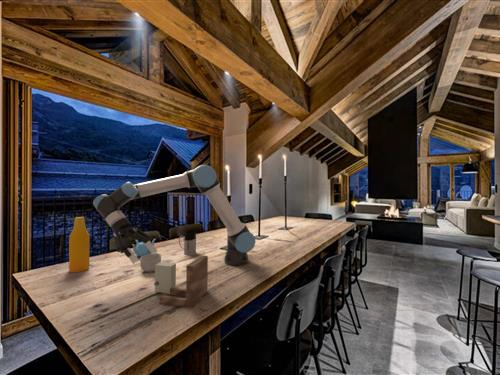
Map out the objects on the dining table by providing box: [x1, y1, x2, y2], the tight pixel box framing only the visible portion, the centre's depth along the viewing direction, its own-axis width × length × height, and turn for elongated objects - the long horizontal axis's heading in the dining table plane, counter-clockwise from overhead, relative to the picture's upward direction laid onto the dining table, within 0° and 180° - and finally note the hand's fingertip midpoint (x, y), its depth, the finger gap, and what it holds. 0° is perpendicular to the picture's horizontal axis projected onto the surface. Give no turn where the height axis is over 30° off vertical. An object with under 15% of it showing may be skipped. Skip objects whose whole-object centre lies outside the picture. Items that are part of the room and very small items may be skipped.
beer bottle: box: [68, 216, 90, 273], centre depth 130 cm, size 9×9×29 cm
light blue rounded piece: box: [131, 238, 156, 258], centre depth 156 cm, size 13×13×10 cm
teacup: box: [139, 252, 162, 273], centre depth 132 cm, size 14×11×8 cm
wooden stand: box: [159, 254, 209, 308], centre depth 100 cm, size 14×14×16 cm
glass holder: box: [178, 230, 197, 256], centre depth 160 cm, size 9×14×15 cm, turn 148°
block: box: [153, 261, 177, 295], centre depth 105 cm, size 8×5×12 cm, turn 76°
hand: (146, 256), depth 107 cm, fingers open, 13 cm apart
